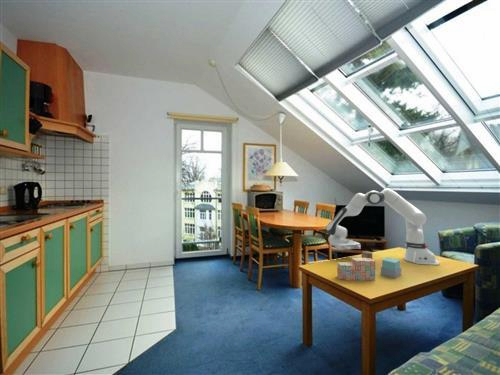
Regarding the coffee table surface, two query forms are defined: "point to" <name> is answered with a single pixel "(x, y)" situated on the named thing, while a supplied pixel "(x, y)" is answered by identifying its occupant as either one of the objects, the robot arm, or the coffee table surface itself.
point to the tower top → (391, 263)
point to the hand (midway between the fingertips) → (354, 248)
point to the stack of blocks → (357, 269)
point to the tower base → (391, 272)
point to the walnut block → (366, 254)
